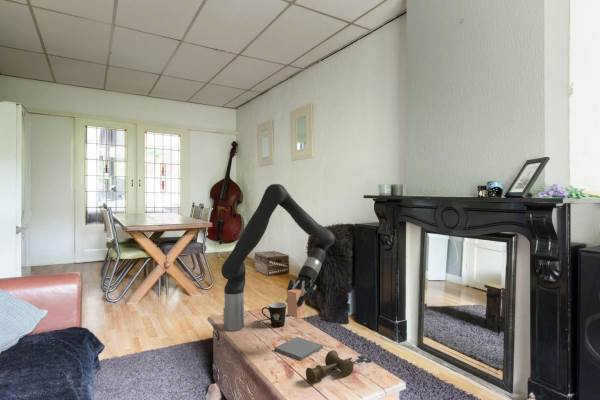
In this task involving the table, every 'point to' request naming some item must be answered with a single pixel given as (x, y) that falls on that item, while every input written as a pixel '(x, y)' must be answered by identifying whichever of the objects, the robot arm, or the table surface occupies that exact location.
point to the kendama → (329, 367)
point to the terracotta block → (294, 303)
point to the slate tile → (299, 348)
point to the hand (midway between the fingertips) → (293, 304)
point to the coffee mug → (276, 314)
